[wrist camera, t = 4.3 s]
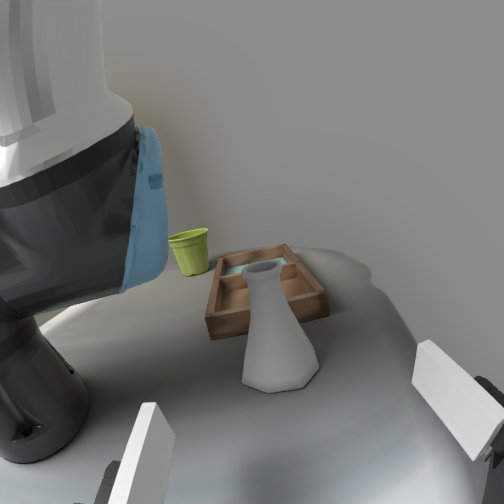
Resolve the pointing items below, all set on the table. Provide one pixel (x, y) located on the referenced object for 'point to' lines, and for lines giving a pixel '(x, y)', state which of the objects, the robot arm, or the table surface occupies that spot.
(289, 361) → the flask
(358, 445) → the table surface
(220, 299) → the walnut caddy
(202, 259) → the plant pot
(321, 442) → the table surface
